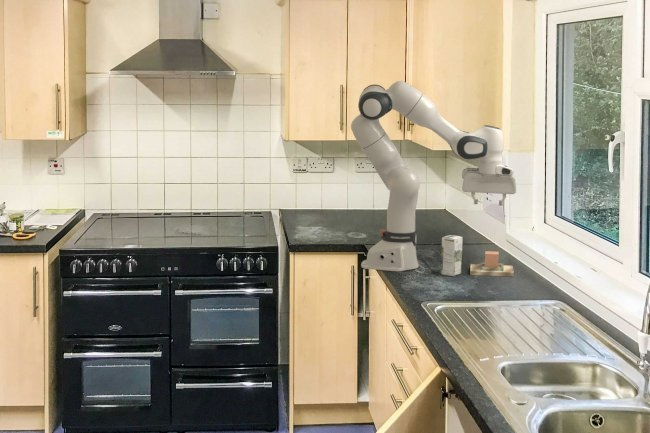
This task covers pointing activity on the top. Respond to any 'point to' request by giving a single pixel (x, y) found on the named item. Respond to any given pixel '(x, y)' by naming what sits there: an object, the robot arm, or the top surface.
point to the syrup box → (451, 255)
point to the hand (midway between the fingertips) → (488, 204)
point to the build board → (491, 270)
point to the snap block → (491, 259)
